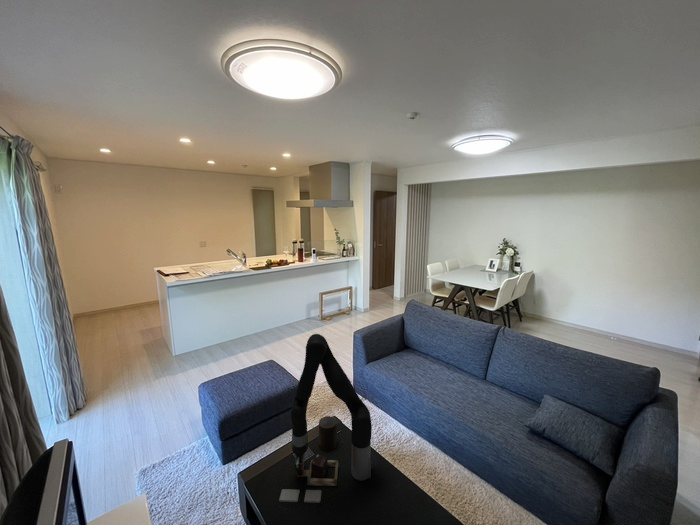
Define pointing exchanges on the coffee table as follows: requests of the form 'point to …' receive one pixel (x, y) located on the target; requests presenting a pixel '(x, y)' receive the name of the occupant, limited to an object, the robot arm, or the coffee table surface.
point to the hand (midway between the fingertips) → (300, 471)
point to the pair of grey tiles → (293, 495)
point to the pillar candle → (327, 433)
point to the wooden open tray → (318, 480)
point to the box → (319, 467)
